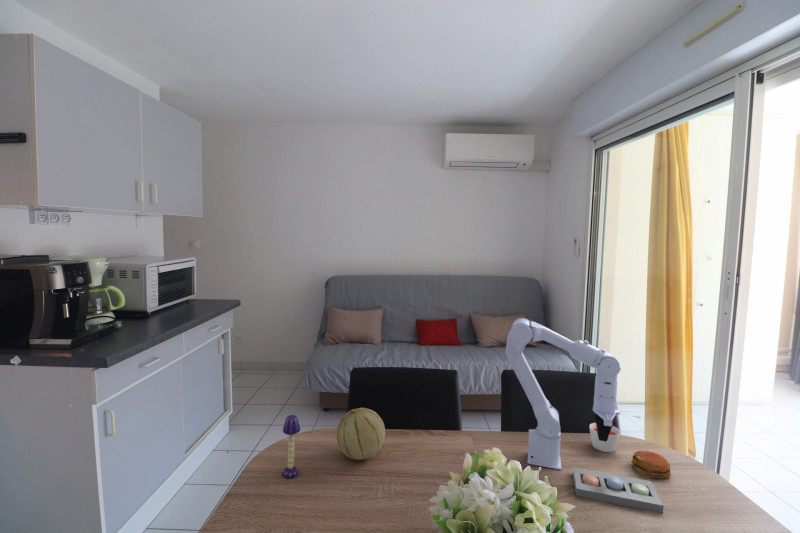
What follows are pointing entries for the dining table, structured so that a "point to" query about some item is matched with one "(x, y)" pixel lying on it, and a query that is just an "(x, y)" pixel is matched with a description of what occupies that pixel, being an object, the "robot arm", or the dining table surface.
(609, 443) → the candle
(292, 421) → the toy lamp
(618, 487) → the blue button
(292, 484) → the dining table surface
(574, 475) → the button panel
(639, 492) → the green button
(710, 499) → the dining table surface
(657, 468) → the burger
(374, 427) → the cantaloupe
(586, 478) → the terracotta button
